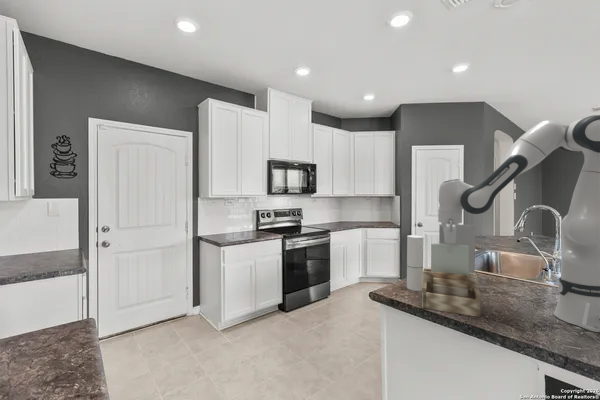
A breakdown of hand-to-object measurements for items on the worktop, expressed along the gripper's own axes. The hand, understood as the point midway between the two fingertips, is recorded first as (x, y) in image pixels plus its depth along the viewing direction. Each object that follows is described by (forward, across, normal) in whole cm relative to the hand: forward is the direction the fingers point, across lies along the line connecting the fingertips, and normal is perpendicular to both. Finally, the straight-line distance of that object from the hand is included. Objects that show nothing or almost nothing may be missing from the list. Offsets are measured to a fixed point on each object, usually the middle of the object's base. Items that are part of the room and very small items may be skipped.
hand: (449, 250), depth 119 cm
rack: (+21, -4, 0) cm, 22 cm away
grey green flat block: (+21, 0, 0) cm, 21 cm away
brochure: (+22, +21, -4) cm, 30 cm away
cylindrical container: (+22, +10, +14) cm, 28 cm away
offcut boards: (+22, -7, 0) cm, 23 cm away
